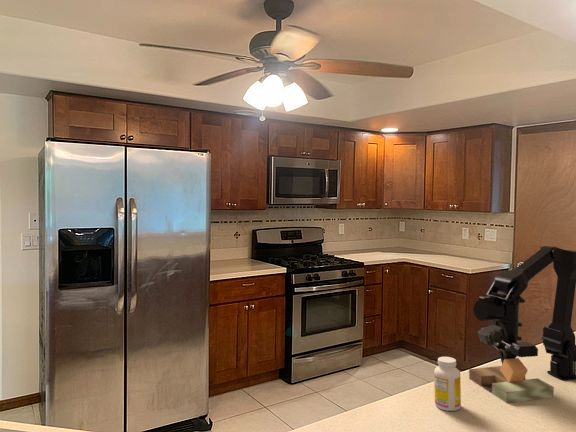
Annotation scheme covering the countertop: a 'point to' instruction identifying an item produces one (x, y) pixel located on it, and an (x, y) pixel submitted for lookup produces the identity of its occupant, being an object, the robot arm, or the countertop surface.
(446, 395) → the supplement bottle
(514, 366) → the block
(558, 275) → the robot arm
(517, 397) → the trap board
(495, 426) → the countertop surface
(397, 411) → the countertop surface
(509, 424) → the countertop surface
